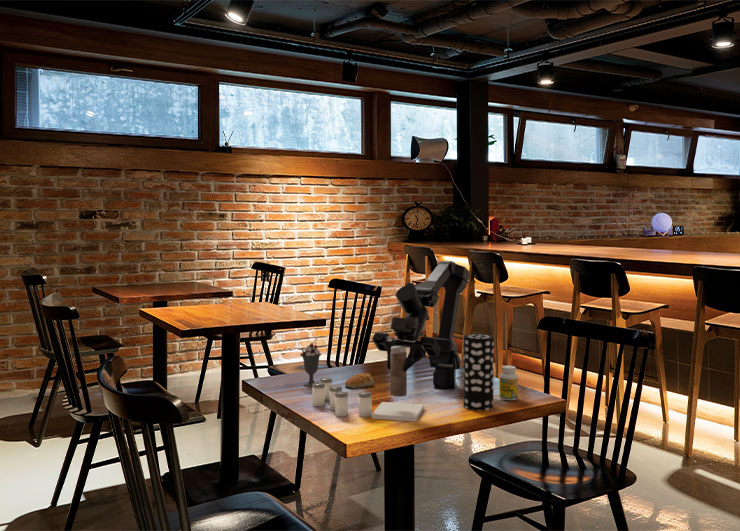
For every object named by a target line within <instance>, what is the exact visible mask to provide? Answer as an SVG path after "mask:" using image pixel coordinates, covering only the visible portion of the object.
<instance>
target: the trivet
mask: <svg viewBox="0 0 740 531" xmlns="http://www.w3.org/2000/svg"><path fill="white" fill-rule="evenodd" d="M424 409H425V405H424V404H415V403H401V402H387V401H381V403H379V405H378V406H377V407H376V408H375V409H374V411H373V412H372V416H371V419H373V420H374V419H376V420H387V421H399V422H400V421H403V422H417V421H418V420H419V418H420V416H421V414H422V413H423V412H424Z"/></svg>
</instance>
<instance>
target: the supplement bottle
mask: <svg viewBox="0 0 740 531" xmlns="http://www.w3.org/2000/svg"><path fill="white" fill-rule="evenodd" d="M516 372H517V371H516V366H514V365H502V366H501V373H500V374H499V384H498V385H499V387H498V388H499V391H498V392H499V393H498V394H499V400H501V399H503V400H502V401H504V400H516V399H517V400H518V399H519V375H518V374H517V373H516ZM517 400H516V401H517Z"/></svg>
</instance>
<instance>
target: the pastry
mask: <svg viewBox="0 0 740 531" xmlns="http://www.w3.org/2000/svg"><path fill="white" fill-rule="evenodd" d="M344 383H345V386H344V387H345V388H346V387H348V388H351V389H361V388H360V387H362V388H365V387H366V386H367V387H370V386H372V385H373V384H374V383H375V382H374V378H373V377H372V375H371V373H369V372H362V373H358V374H354V375H352V376H351V377H349V378H348V379H347V380H345V382H344Z"/></svg>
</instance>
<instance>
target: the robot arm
mask: <svg viewBox="0 0 740 531" xmlns="http://www.w3.org/2000/svg"><path fill="white" fill-rule="evenodd" d="M469 280H470V271H469V269H468V268H466V266H463V265H461V264H459V263H458V264H457V263H456V262H455V261H453V260H440V261H438V262H437V263H436V267H435V268H434V270H432V271H431V273H430V274H429V276H428V277H427V278H426V280H424V281H423V282H420V283H417V284H416V285H415V283H414V282H407V283H406V285H403V286H402V287H400V288H398V290H397V291H396V293H395V298H396V299H397V300H398V303H399V305H400V307H401V309H402V311H403V312H405V313H406V314H405V316H404V317H396V316H392V319H391V323H390V324H391V325H390V330H393V331H394V335H395V336H396V337H397V338H394V337H393V336H390V335H389V333H388V332H381V331H377V332H374V333H373V337H372V338H371V341H372V342H373V343H374V345H375V347H376V349H377V350H378V351H380V352H386V354H387V355H386V359H387V360H386V361H387V362H386V365H387V366H386V367H387V369H388V370H389V371H390V352H391V347H392V346H405V347H406V349H409V351H408V354H407V359H406V362H405V364H404V368H403V370H404V372H406V371H407V372H408V370H409V369H410V368H411V367H413V366H414V365H415V364H416V363H418V362H419V361H420V360H422V359H425V358H426V357H427V356H428V360H429V365H430V366H429V367H430V368H434V371H433V372H432V377H433V378H432V385H433V388H434V389H443V390H444V389H445V390H446V389H447V390H455V389H456V387H457V381H456V380H457V378H456V376H457V370H461V366H462V360H461V357H460V355H459V353H458V346H457V343H456V341H455V339H454V336H455V329H456V323H457V316H458V311H459V310H458V309H459V305H460V296H461V294H462V293H463V292H464V290H466V289H467V285H468V281H469ZM442 287H443V288H444V291H445V292H444V299H443V305H442V311H441V317H440V324H439V330H438V334H437V335H436V337H432V336H424V330H423V328H424V326H425V324H426V321H430V315H429V310H428V309H427V308H434V307H435V306H436V305H437V302H438V300H439V292H440V290H441V289H442Z"/></svg>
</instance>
